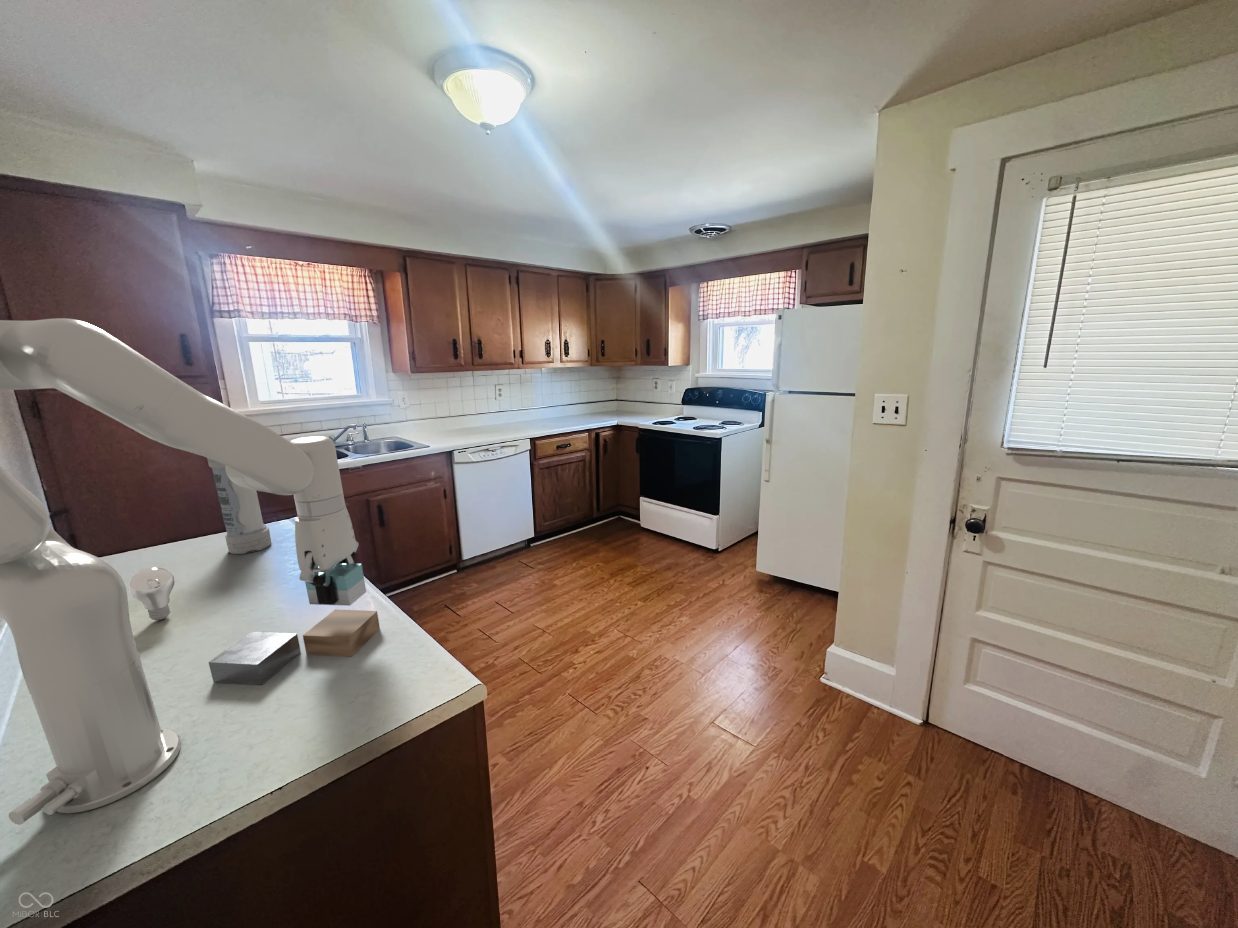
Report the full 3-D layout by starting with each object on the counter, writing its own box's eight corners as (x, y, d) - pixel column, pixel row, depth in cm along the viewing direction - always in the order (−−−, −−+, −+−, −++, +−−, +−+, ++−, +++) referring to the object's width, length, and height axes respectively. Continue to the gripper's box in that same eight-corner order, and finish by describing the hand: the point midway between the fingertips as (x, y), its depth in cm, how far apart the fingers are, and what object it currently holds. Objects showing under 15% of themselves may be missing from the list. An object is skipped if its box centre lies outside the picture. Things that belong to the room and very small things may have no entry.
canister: (229, 558, 132) (205, 451, 125) (228, 547, 140) (205, 446, 133) (273, 547, 139) (252, 446, 132) (270, 537, 146) (250, 441, 139)
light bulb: (152, 631, 98) (137, 577, 95) (131, 625, 100) (115, 573, 97) (191, 613, 104) (178, 563, 102) (170, 608, 107) (157, 558, 104)
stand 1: (261, 684, 82) (257, 664, 81) (213, 682, 83) (208, 662, 82) (300, 652, 90) (297, 633, 89) (256, 650, 91) (252, 631, 90)
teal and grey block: (309, 604, 90) (303, 574, 88) (327, 590, 94) (322, 562, 93) (350, 605, 89) (344, 576, 87) (366, 591, 94) (361, 563, 92)
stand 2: (351, 656, 89) (348, 637, 88) (306, 654, 90) (302, 635, 89) (379, 628, 98) (377, 610, 97) (338, 626, 98) (335, 609, 97)
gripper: (333, 490, 96) (348, 574, 100) (263, 522, 79) (285, 620, 84) (368, 491, 95) (382, 574, 99) (306, 522, 78) (325, 621, 83)
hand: (337, 594), depth 92 cm, fingers closed on teal and grey block, 5 cm apart
